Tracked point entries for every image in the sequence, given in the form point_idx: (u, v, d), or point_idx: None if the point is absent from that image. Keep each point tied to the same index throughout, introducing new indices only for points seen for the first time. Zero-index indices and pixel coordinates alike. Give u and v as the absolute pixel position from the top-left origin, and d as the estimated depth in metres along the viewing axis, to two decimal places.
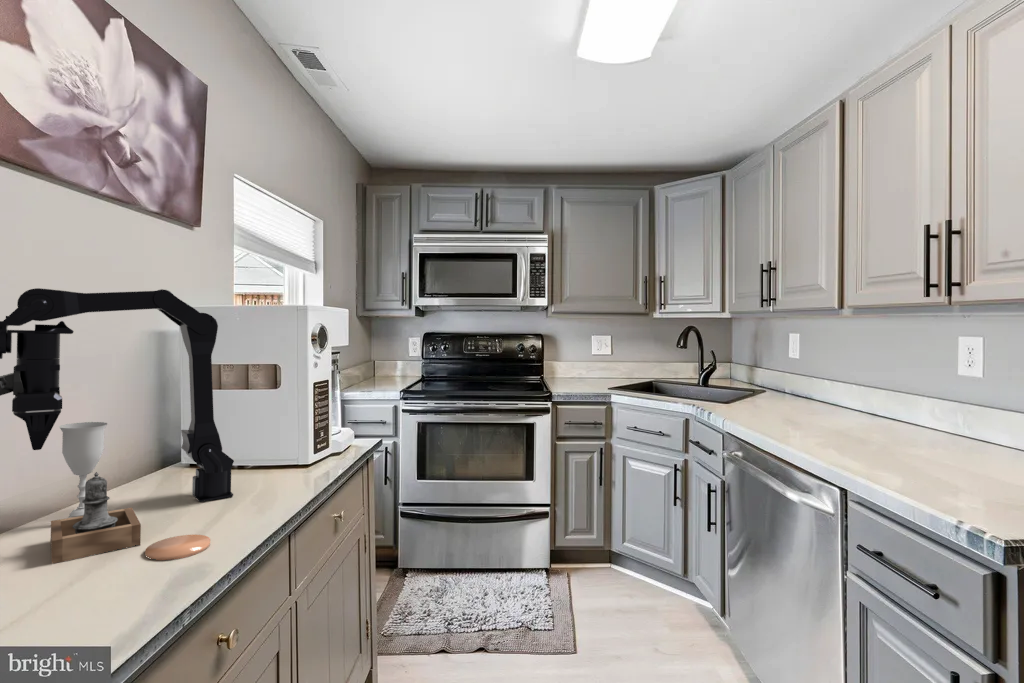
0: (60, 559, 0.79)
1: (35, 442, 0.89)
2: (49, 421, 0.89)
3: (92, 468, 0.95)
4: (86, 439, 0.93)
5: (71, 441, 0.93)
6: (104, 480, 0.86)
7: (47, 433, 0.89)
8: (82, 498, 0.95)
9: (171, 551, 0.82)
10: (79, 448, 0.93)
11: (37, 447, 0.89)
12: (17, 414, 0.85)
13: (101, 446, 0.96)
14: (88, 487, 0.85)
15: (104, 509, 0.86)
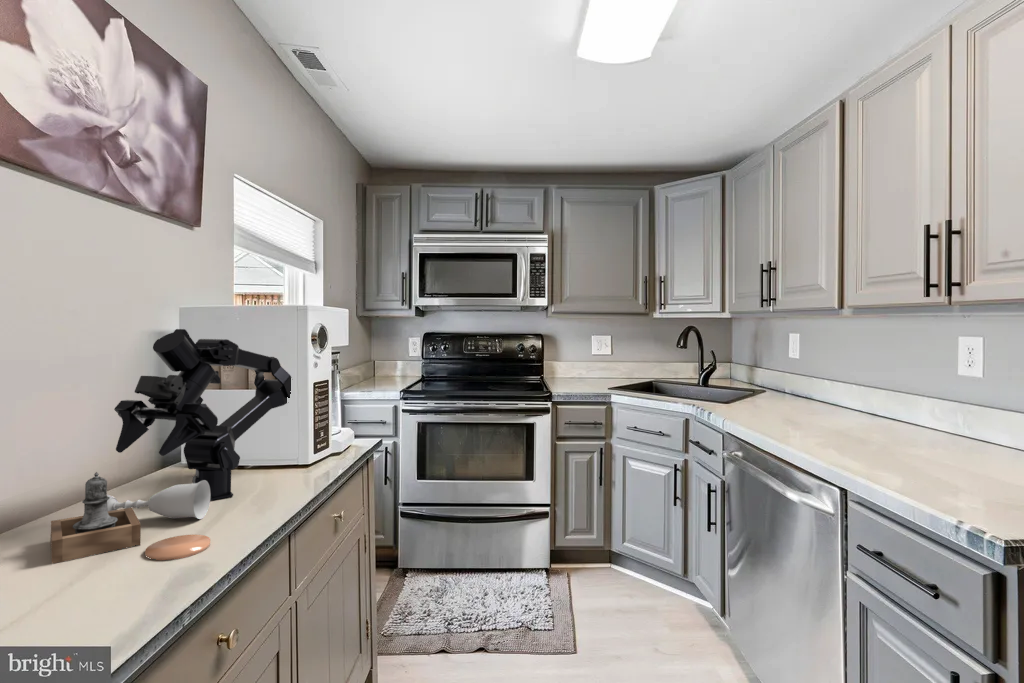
0: (60, 559, 0.79)
1: (168, 447, 0.94)
2: (189, 436, 0.97)
3: (155, 512, 0.97)
4: (183, 512, 0.96)
5: (181, 500, 0.96)
6: (104, 480, 0.86)
7: (179, 445, 0.96)
8: (124, 507, 0.96)
9: (171, 551, 0.82)
10: (173, 508, 0.95)
11: (163, 452, 0.93)
12: (191, 416, 0.95)
13: None
14: (88, 487, 0.85)
15: (104, 509, 0.86)
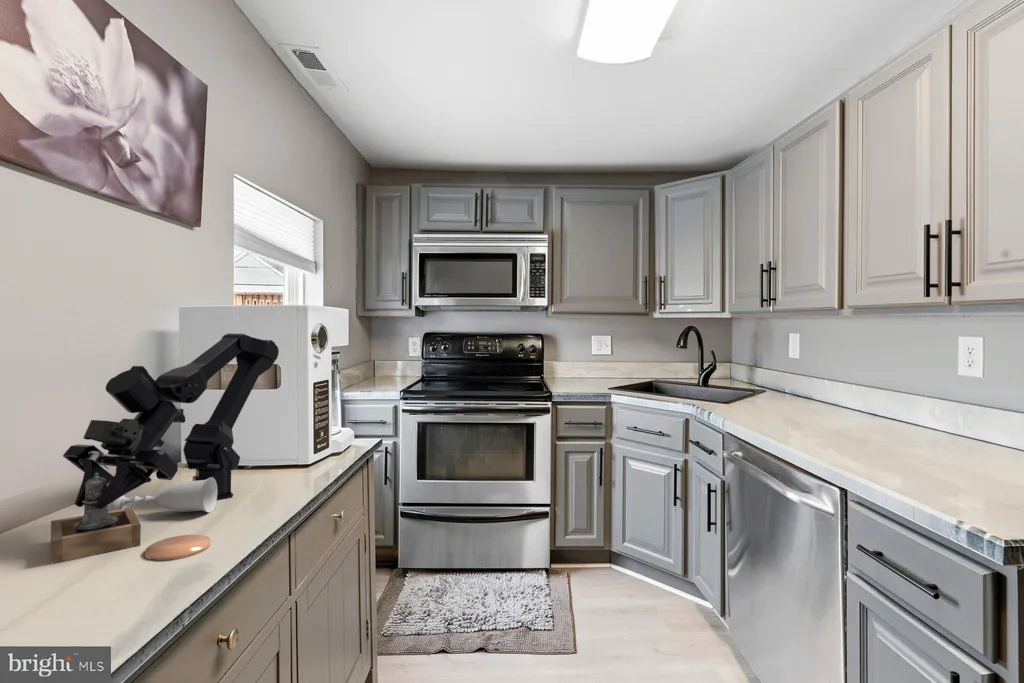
0: (60, 559, 0.79)
1: (106, 499, 0.85)
2: (132, 485, 0.88)
3: (161, 502, 0.99)
4: (192, 490, 0.99)
5: (195, 482, 1.01)
6: (104, 480, 0.86)
7: (119, 496, 0.87)
8: (133, 499, 0.99)
9: (171, 551, 0.82)
10: (185, 487, 1.00)
11: (100, 505, 0.84)
12: (132, 464, 0.87)
13: (182, 505, 0.99)
14: (88, 487, 0.85)
15: (104, 509, 0.86)
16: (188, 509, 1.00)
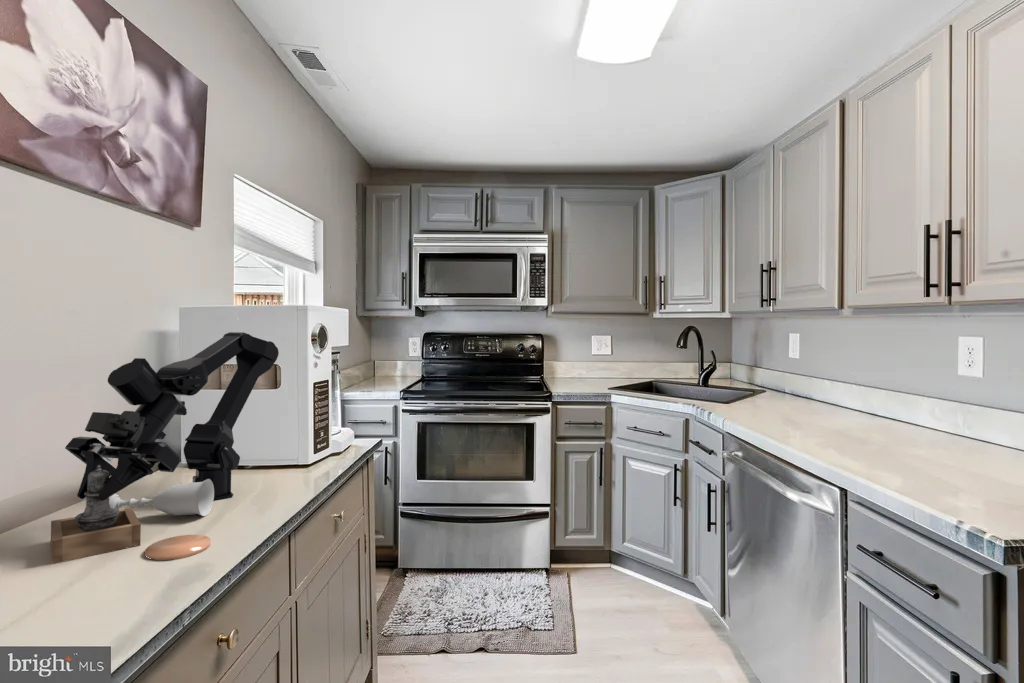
0: (60, 559, 0.79)
1: (108, 491, 0.85)
2: (134, 477, 0.88)
3: (158, 508, 0.98)
4: (186, 502, 0.97)
5: (187, 491, 0.98)
6: (106, 473, 0.86)
7: (121, 488, 0.87)
8: (128, 503, 0.98)
9: (171, 551, 0.82)
10: (178, 498, 0.97)
11: (102, 497, 0.85)
12: (134, 456, 0.86)
13: (179, 514, 0.98)
14: (90, 479, 0.85)
15: (106, 502, 0.86)
16: (187, 514, 0.99)
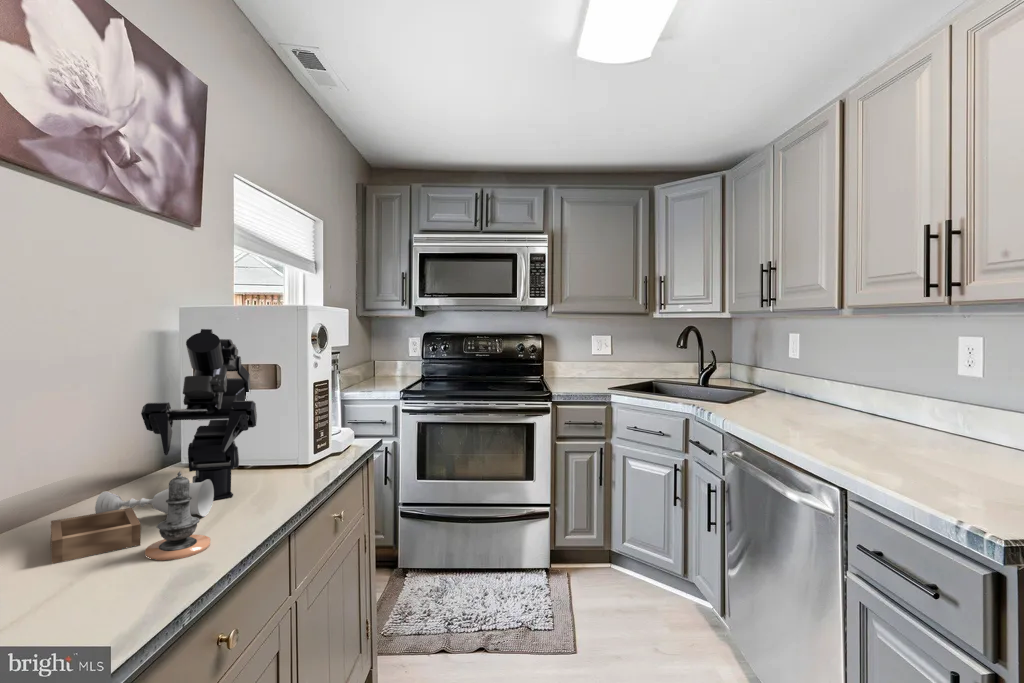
0: (60, 559, 0.79)
1: (227, 443, 0.97)
2: (237, 433, 1.01)
3: (157, 509, 0.98)
4: None
5: None
6: (188, 479, 0.86)
7: (232, 441, 0.99)
8: (128, 503, 0.98)
9: (171, 551, 0.82)
10: None
11: (224, 449, 0.96)
12: (246, 413, 1.00)
13: None
14: (177, 487, 0.84)
15: (189, 508, 0.86)
16: None
